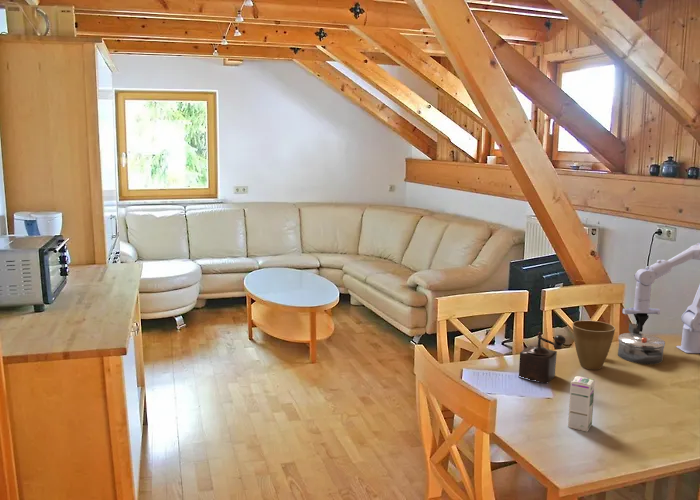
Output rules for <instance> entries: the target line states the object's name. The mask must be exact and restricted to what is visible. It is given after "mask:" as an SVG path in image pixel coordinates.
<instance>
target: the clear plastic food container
mask: <svg viewBox="0 0 700 500" xmlns="http://www.w3.org/2000/svg"><path fill="white" fill-rule="evenodd" d="M664 348H665V346H664V347H662V348H657V349H655V351H650V350H643V349H642V348H638V347H633V346H629V345H626V344H624V343H622V342H620V341H619V340H618V349H617V355H618V357H619V358H621V359H622V360H624V361H628V362H630V363H635V364H641V365H657V364H660V363H662V362H663V360H664V359H663V358H664Z"/></svg>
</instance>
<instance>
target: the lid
mask: <svg viewBox="0 0 700 500" xmlns="http://www.w3.org/2000/svg"><path fill="white" fill-rule="evenodd" d="M619 341H620V342H622V343H624V344H626V345H629V346H633V347H638V348H642V349H643V350H650V351H655V349H657V348H662V347H664V348H665V346H666V341H665V340H664V339H663V338H660V337H658V336H654V335H651V334H647V333H641V332H640V328H639V327H638V326H637V323H630V322H629V323H628V332H624V333H620V334H619V335H618V342H619Z"/></svg>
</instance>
